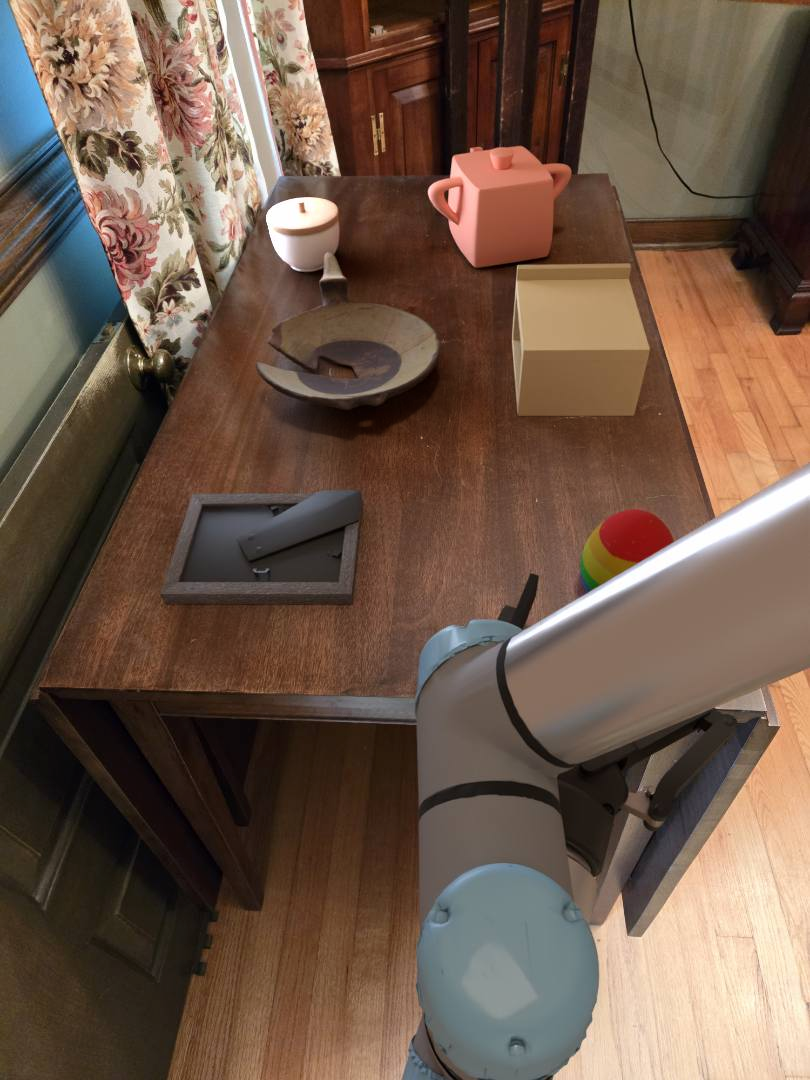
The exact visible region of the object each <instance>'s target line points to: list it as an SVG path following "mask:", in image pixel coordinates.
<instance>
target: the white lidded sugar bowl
mask: <svg viewBox="0 0 810 1080" xmlns="http://www.w3.org/2000/svg"><path fill="white" fill-rule="evenodd" d="M339 211H340V210H339V207H338V206H337V205H336V204H335V202H333V201H331V200H328V199H324V198H321V197H313V196H312V197H311V196H310V197H309V196H308V197H306V196H305V197H296V198H291V199H288V200H287V199H286V200H284V201H281V202H279V203H276V204H275V205H273V206H272V207H271V208H270V209H269V210H267V213H266V216H265V217H266V223H267V226H268V230H269V231H268V232H269V235H270V239H271V243H272V246H273V247H274V250H275V251H276V253H277V255H278V256H279V257H280V258H281V260H282V261H283V262H285V263H286V264H287V265H288V266H290V267H291V268H292V269H293V270H294V271H297V272H304V273H309V272H316V271H319V270H322V269H324V257H325V254H326V253H328V252H330V253H332V254H333V255H334V256H335V253H336V252H337V250H338V247H339V243H340V229H341V228H340V219H339V218H340V212H339Z"/></svg>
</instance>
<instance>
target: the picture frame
mask: <svg viewBox="0 0 810 1080" xmlns="http://www.w3.org/2000/svg"><path fill="white" fill-rule="evenodd" d="M362 492H363V491H362V489H321V490H319V491H318V492H307V493H306V492H305V493H300V492H296V493H295V492H294V493H291V492H290V493H283V492H281V493H280V492H279V493H192V495H191V497H190V500H189V503H188V507H187V510H186V513H185V516H184V519H183V522H182V524H181V528H180V531H179V535H178V538H177V540H176V544H175V547H174V550H173V553H172V556H171V559H170V561H169V565H168V568H167V571H166V575H165V577H164V578H165V579H164V581H163V584H162V587H161V590H160V593H159V595H160V597H161V599H162V601H163V603H164V605H354V599H355V598H354V597H355V587H356V580H357V579H356V578H357V569H358V558H359V550H360V549H359V548H360V538H361V528H362V520H363V519H362V518H363V509H364V498H363V493H362Z"/></svg>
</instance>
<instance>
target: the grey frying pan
mask: <svg viewBox="0 0 810 1080" xmlns="http://www.w3.org/2000/svg"><path fill="white" fill-rule="evenodd" d="M348 286H349V282H348V278H347V277H345V275H344V274H343V272H342V269H341V268H340V265H339V262H338V260H337V258H336V256H335V254H334V255H333V254H332V253H330V252H328V253H326V254H325V257H324V268H323V275H322V277H321V279H320V280H319V288H320V293H321V299H322V305H319V306H317V307H315V308H313V309H310V310H307V311H303V312H301V313H297V314H295V315H292V316H290V317H289V318H286V319H284V320H282V321H280V322H278V323H277V324H276V325H274V327H272V329H271V334H270V336H269V337H268V338H267V340H266V342H267V344H268V345H269V346H271V347H272V348H273V349H274V350H275V351H276V352H278V353H280V354H281V355H283V356H284V358H286V359H288V360H290V361H291V362H292V363H293V364H296V365H297V366H300V368H302V370H307V371H308V372H309V373H307V372H302V371H300V372H299V371H293V370H286V369H285V370H284V369H283V368H279V367H275V366H271V365H268V364H266V363H264V362H259V361H258V362H255V369H256V371H257V373H258V374H259V376H260V378H262V379H261V380H263V381H264V382H265V383H266V384H267V385H269V386H270V387H271V388H273V390H275V391H277V392H278V393H281V394H283V395H285V396H287V397H290V398H292V399H296V400H298V401H300V402H303V403H304V402H305V403H308V404H310V405H311V404H312V405H317V406H327V407H332V408H336V409H338V410H342V411H349V410H352V409H354V408H357V407H360V406H374V407H375V406H380V405H382V404H384V403H385V402H386V400H387V399H389V398H392V397H395V396H397V395H401V394H402V393H404V392H406V391H408V390H409V389H412V388H414V386H417V385H418V384H419V383H420V382H422V381H423V380H425V378H427V377H428V375H430V373H431V372H432V371H433V370H434V368H435V367H436V365H437V363H438V361H439V359H440V355H441V342H440V340H439V335H438V334H437V331H436V330H435V329H434V328H433V327H432V325H430V323H428V322H427V321H425V319H423V318H421V317H419V316H418V315H415V314H413V313H412V312H411V313H410V312H409V311H405V310H403V309H399V308H396V307H392V306H389V305H383V304H377V303H367V302H352V301H351V300H350V299H349V296H348ZM320 360H323V361H326V362H327V363H330V364H335V365H337V366H342V367H348V368H351V369H352V370H353V373H355V375H356V378H345V377H334V376H332V374H331V371H332V368H330V369H328V371H329V373H328V374H329V376H328V375H322V374H321V375H319V374H318V372H319V370H320V369H319V368H320V366H321V363H320Z"/></svg>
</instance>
